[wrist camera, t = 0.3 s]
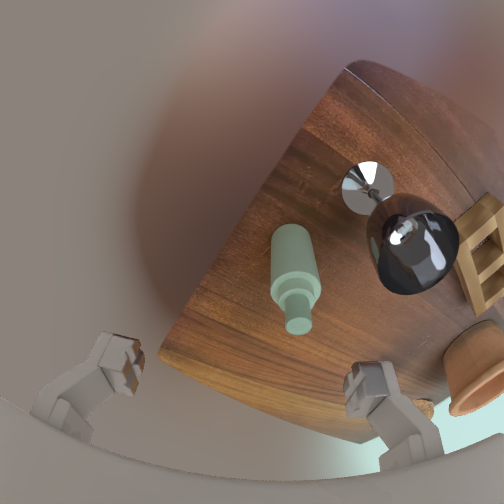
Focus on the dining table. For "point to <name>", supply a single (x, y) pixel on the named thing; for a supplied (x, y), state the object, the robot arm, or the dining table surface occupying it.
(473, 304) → the hollow wooden block
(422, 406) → the rough tan rock
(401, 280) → the wine glass
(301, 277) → the bottle
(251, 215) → the dining table surface
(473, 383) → the pottery
